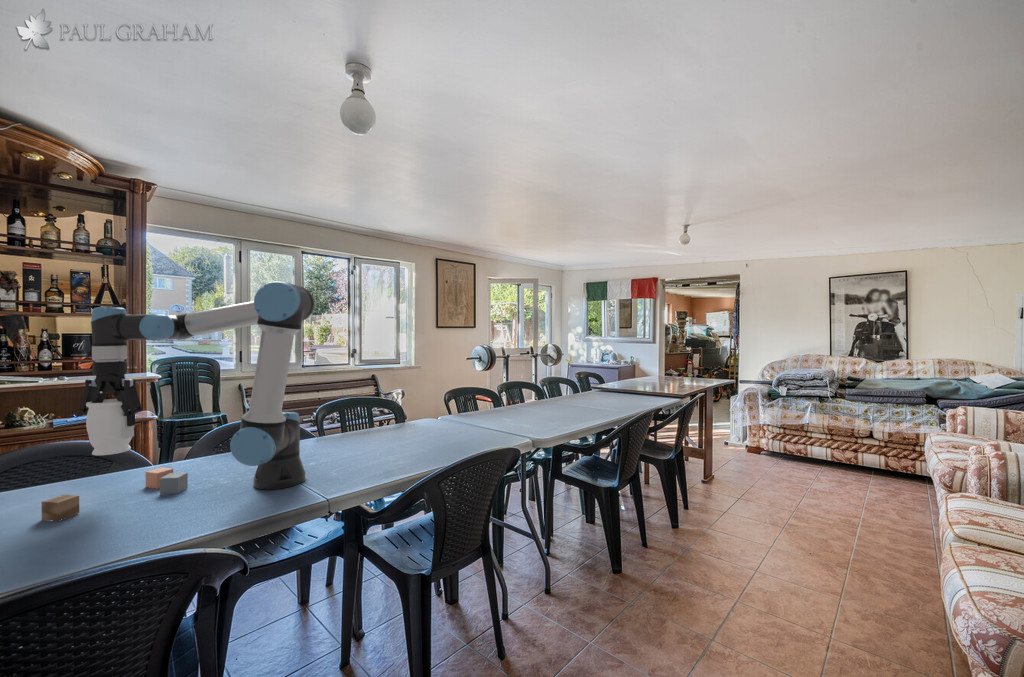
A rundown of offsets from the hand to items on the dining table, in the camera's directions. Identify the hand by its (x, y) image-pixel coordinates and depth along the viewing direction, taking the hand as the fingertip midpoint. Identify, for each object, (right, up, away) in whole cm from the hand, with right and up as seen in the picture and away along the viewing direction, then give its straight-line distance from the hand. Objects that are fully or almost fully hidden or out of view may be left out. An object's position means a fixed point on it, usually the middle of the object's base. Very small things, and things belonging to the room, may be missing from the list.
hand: (111, 437), depth 129 cm
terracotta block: (+3, -19, +14) cm, 23 cm away
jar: (0, -5, 0) cm, 5 cm away
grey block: (+12, -19, +9) cm, 24 cm away
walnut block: (-4, -19, -11) cm, 22 cm away
